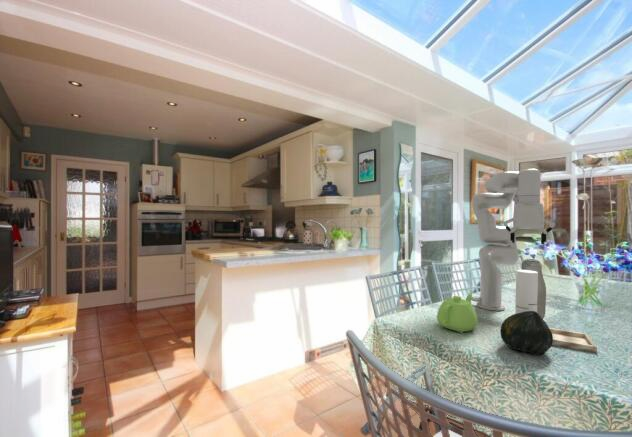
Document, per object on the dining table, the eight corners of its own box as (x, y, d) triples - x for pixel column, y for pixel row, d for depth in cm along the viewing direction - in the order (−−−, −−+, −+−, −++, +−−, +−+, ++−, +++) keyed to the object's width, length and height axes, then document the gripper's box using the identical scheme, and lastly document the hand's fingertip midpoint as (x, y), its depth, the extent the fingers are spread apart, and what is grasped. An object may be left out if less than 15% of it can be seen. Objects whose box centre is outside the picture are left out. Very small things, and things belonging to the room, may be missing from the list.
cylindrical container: (540, 337, 120) (541, 273, 119) (519, 336, 121) (521, 272, 121) (531, 330, 127) (532, 270, 126) (512, 329, 128) (513, 269, 128)
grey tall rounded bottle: (530, 317, 144) (531, 257, 143) (550, 325, 133) (552, 260, 133) (511, 318, 142) (513, 257, 141) (531, 326, 132) (532, 261, 131)
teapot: (455, 317, 143) (455, 289, 142) (489, 327, 130) (489, 296, 130) (427, 327, 130) (427, 296, 129) (461, 339, 117) (462, 304, 117)
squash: (490, 323, 119) (505, 301, 109) (532, 326, 118) (551, 305, 108) (503, 360, 109) (520, 340, 99) (548, 364, 107) (571, 344, 97)
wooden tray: (546, 343, 114) (546, 338, 114) (542, 331, 126) (542, 326, 126) (597, 352, 107) (597, 347, 107) (587, 339, 119) (587, 333, 119)
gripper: (503, 200, 124) (502, 242, 124) (557, 199, 115) (556, 245, 116) (503, 201, 131) (502, 241, 131) (554, 200, 122) (553, 244, 122)
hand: (527, 243), depth 123 cm, fingers open, 9 cm apart
